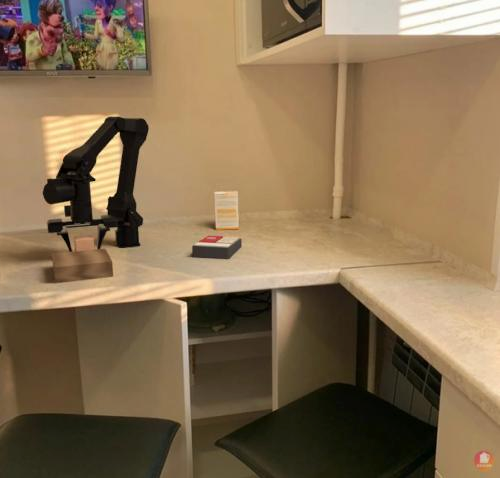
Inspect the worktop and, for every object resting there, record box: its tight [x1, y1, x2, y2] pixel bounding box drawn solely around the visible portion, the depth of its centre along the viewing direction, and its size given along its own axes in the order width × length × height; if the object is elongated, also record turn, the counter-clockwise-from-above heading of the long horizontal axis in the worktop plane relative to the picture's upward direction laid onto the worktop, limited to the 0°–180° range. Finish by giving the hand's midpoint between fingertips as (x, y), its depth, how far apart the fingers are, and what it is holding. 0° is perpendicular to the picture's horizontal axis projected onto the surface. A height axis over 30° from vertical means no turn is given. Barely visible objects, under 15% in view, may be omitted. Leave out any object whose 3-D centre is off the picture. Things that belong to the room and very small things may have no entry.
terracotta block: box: [73, 235, 96, 252], centre depth 157 cm, size 5×5×6 cm
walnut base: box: [51, 248, 114, 284], centre depth 144 cm, size 14×14×4 cm
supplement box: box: [213, 190, 240, 231], centre depth 193 cm, size 8×5×13 cm, turn 93°
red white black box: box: [191, 235, 242, 260], centre depth 163 cm, size 11×4×15 cm
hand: (85, 253), depth 158 cm, fingers open, 7 cm apart
